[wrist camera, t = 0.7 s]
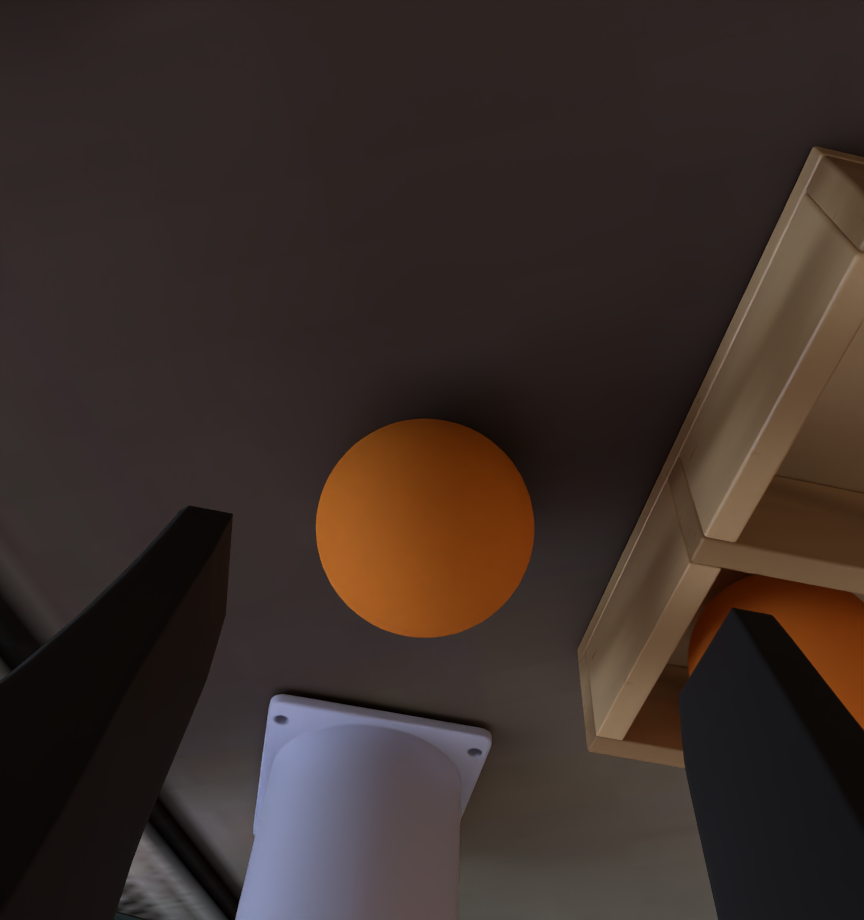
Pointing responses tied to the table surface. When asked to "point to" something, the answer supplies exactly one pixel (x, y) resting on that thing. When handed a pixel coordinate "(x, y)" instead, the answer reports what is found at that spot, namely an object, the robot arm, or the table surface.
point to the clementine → (425, 528)
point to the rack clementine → (799, 629)
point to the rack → (746, 469)
